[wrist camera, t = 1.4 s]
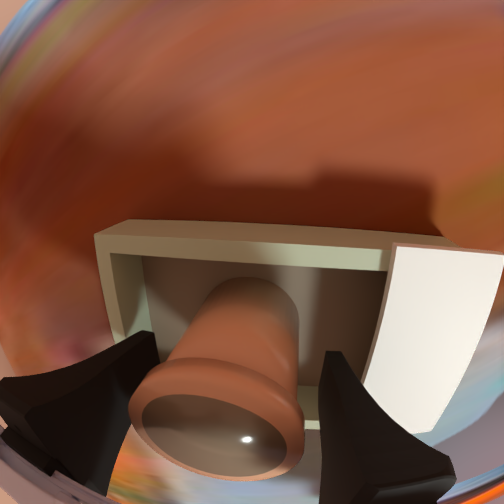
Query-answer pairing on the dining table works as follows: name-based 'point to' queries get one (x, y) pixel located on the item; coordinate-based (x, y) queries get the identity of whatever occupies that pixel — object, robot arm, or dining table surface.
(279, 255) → the box with sliding lid
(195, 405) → the pot
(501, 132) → the dining table surface
